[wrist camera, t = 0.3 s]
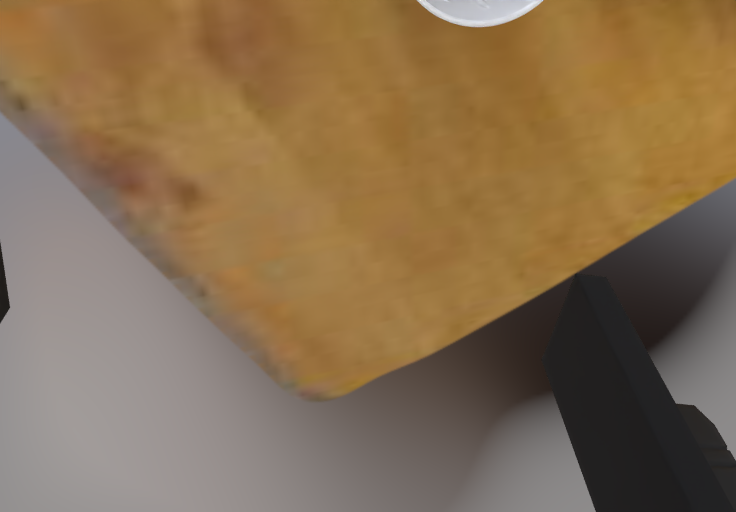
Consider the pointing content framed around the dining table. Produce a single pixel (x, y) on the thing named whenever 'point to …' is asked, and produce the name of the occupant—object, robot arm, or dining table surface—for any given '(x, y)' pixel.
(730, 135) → the dining table surface
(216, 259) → the dining table surface
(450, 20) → the white cup
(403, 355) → the dining table surface
